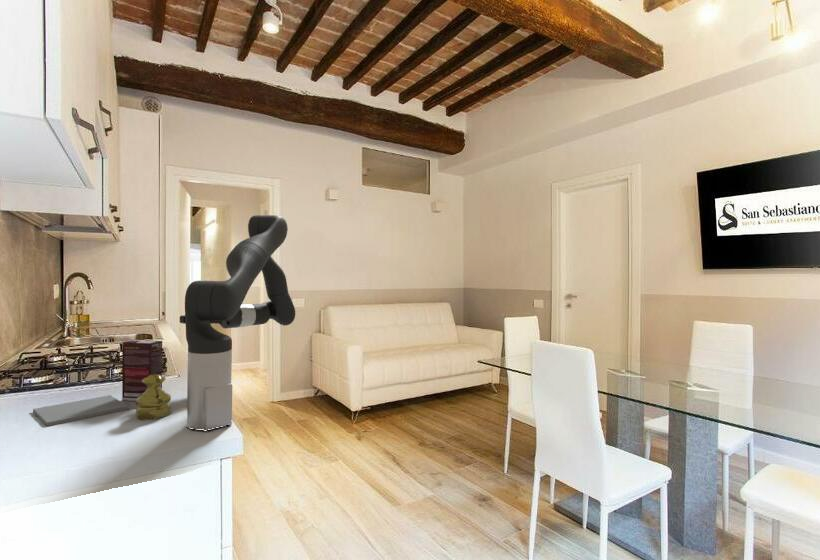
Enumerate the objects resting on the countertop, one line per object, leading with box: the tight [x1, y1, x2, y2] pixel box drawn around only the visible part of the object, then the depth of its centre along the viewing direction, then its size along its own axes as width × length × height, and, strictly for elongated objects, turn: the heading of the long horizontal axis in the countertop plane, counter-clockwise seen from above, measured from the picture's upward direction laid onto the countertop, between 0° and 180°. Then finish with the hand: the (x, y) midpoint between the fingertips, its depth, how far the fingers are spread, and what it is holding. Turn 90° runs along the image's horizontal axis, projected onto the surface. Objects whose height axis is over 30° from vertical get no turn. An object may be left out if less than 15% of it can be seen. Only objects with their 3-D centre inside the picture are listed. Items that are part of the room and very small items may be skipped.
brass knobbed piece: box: [135, 374, 172, 420], centre depth 104 cm, size 7×7×10 cm
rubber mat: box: [32, 394, 129, 427], centre depth 106 cm, size 14×16×1 cm
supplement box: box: [121, 339, 163, 402], centre depth 116 cm, size 9×5×16 cm, turn 84°
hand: (181, 319), depth 124 cm, fingers closed
